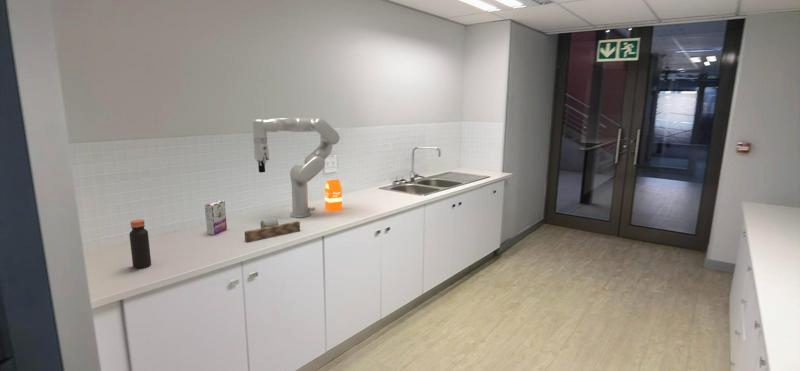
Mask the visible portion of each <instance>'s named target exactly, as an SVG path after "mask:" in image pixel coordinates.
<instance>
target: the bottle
mask: <svg viewBox="0 0 800 371" xmlns="http://www.w3.org/2000/svg"><path fill="white" fill-rule="evenodd" d="M145 226H146V224H145V220H144V219H133V220H131V221H130V228H131V229H132V230H131V231H130V232H129V242H130V250H131V251H130V253H131V262H132V267H133V268H134V269H139V270H140V269H146V268H148V267H150V266H151V265H152V259H151V258H152V257H151V248H150V239H149V231H148V229H146V228H145Z"/></svg>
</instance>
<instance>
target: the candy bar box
mask: <svg viewBox="0 0 800 371" xmlns="http://www.w3.org/2000/svg"><path fill="white" fill-rule="evenodd" d="M204 210H205V211H204V212H205V213H204V214H205V223H206V232H207V233H206V234H207V235H209V236H216V235H217V234H221V233H223V232H224V231H226V230H228V227H227V226H228V225H227V217H226V216H227V215H226V213H227V211H226V202H225V200H214V201H212V202H209V203H207V204H204Z"/></svg>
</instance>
